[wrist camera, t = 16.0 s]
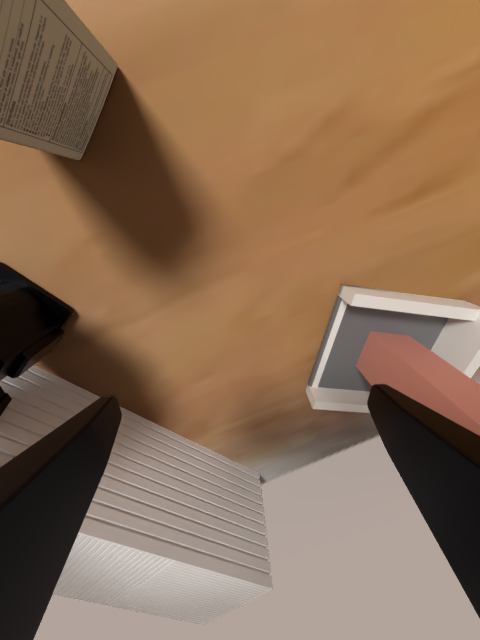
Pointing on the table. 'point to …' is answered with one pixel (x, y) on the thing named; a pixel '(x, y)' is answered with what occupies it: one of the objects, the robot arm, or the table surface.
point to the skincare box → (50, 77)
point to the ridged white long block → (151, 513)
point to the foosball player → (421, 377)
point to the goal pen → (396, 318)
